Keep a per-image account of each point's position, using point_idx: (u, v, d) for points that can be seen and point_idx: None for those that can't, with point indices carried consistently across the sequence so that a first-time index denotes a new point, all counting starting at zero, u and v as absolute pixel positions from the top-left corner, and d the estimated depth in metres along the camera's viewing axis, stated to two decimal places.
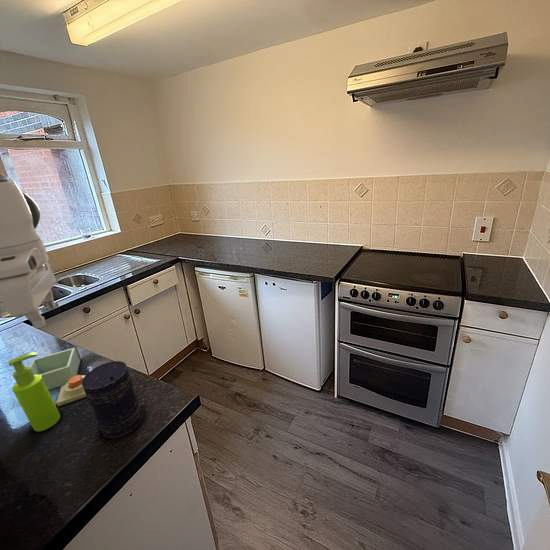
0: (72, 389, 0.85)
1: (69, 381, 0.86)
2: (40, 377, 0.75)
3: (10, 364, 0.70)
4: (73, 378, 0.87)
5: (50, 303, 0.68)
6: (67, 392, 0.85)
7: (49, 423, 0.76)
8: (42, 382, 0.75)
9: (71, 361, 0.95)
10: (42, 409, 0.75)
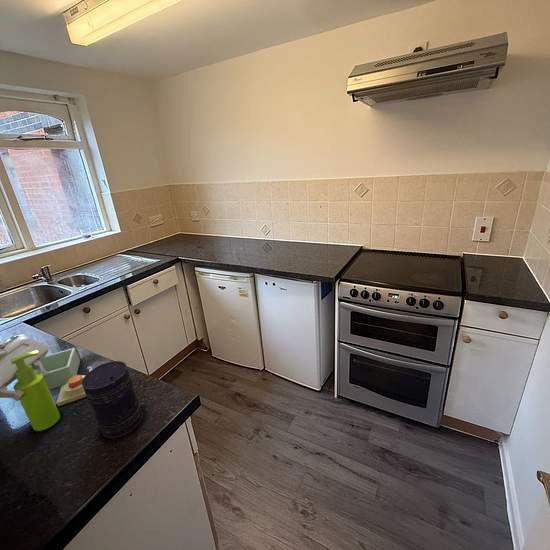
0: (72, 389, 0.85)
1: (69, 381, 0.86)
2: (41, 376, 0.75)
3: (12, 362, 0.71)
4: (73, 378, 0.87)
5: None
6: (67, 392, 0.85)
7: (49, 423, 0.76)
8: (43, 381, 0.75)
9: (71, 361, 0.95)
10: (43, 408, 0.75)
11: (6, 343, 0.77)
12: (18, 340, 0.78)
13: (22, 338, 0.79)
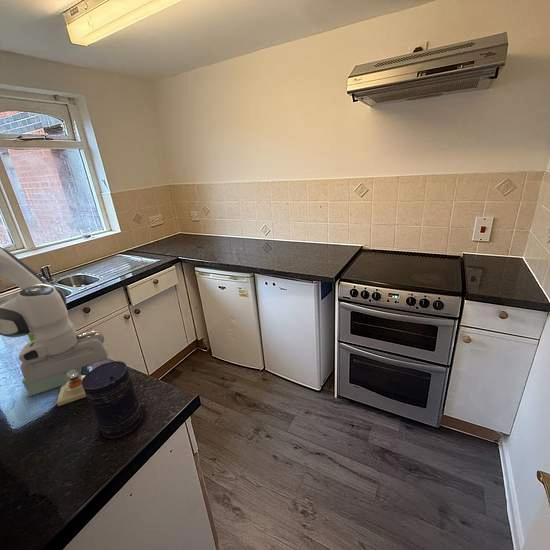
0: (72, 389, 0.85)
1: None
2: None
3: None
4: None
5: None
6: (67, 392, 0.85)
7: None
8: None
9: None
10: None
11: (81, 338, 0.84)
12: (88, 343, 0.84)
13: (93, 342, 0.85)
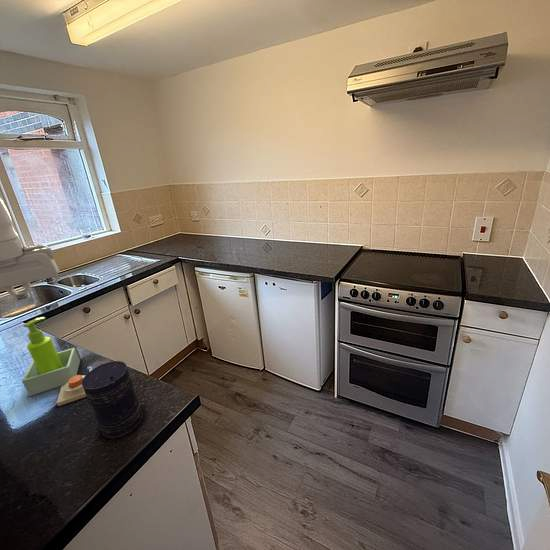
0: (72, 389, 0.85)
1: (69, 381, 0.86)
2: (48, 337, 0.93)
3: (27, 325, 0.87)
4: (73, 378, 0.87)
5: None
6: (67, 392, 0.85)
7: None
8: (51, 341, 0.93)
9: (71, 361, 0.95)
10: (55, 362, 0.93)
11: (27, 250, 0.80)
12: (35, 256, 0.80)
13: (40, 255, 0.80)
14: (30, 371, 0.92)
